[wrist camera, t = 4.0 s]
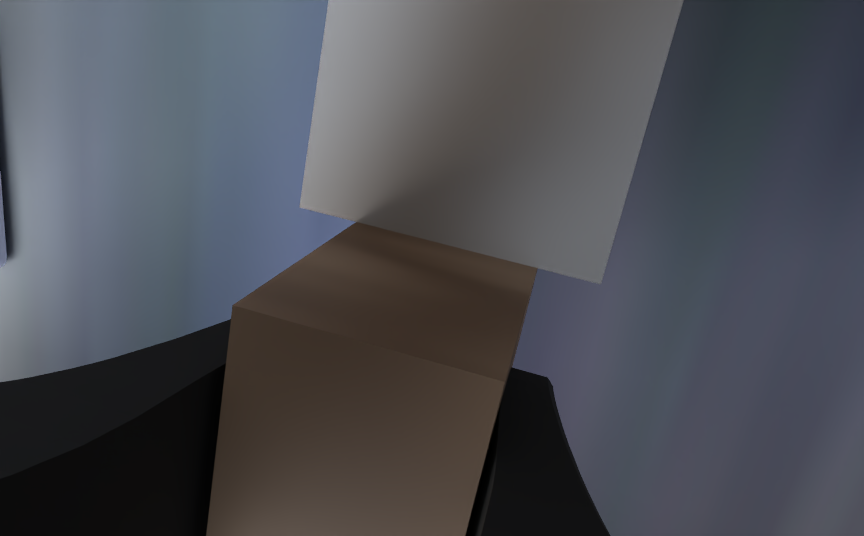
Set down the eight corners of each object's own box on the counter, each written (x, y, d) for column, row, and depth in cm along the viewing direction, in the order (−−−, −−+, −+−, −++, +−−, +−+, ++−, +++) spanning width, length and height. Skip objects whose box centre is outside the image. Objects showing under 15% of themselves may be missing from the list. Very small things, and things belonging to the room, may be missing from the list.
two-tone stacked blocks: (287, 396, 14) (127, 571, 9) (399, -352, 10) (223, -720, 5) (541, 473, 13) (510, 706, 8) (767, -305, 9) (943, -685, 4)
